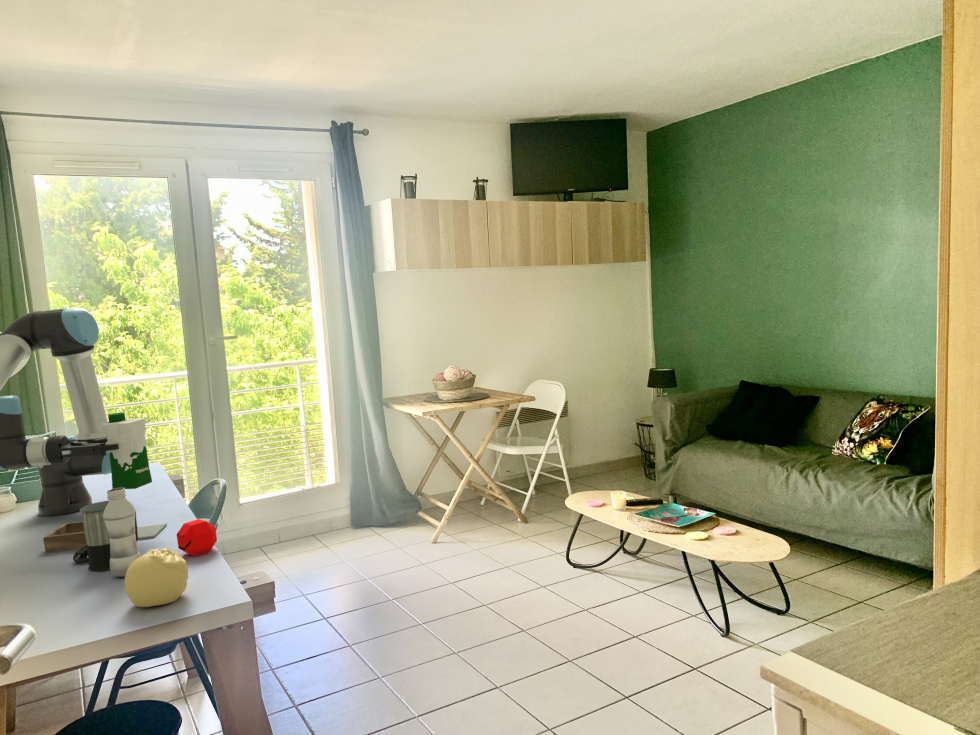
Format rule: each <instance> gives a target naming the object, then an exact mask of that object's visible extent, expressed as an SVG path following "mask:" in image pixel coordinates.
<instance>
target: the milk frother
mask: <svg viewBox="0 0 980 735" xmlns="http://www.w3.org/2000/svg"><path fill="white" fill-rule="evenodd" d="M108 503H109V500H103V501H99V502H94V503H92V504H90V505H87V506H85V507H83V508H81V509H80V510H79V512H81V516H82V517H81V518H82V521H83V524H84V531H85V538H86V544H87V545H86V546H84V547H83V548H78V550H76V551H75V553H74V554H73V555H72V560H73V562H74V563H77V564H85V563H86V564H87V563H88V569H87V570H89V571H90V572H104V571H111V570H110V541H109V536H108V531H107V527H106V524H105V520H104V517H103V514H104V510H105V508H106V506H107V504H108ZM137 521H138V520H137V511H136V510H135V535H136V542H137V543H138V541H139V540H138V533H137V527H138V522H137Z"/></svg>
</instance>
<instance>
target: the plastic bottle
mask: <svg viewBox="0 0 980 735" xmlns="http://www.w3.org/2000/svg"><path fill="white" fill-rule="evenodd" d="M106 494H107V495H106V496H107V497H106V498H107V501H109V503H108V504H107V506H106V508H105V510H104V514H103V517H104V520H105V524H106V527H107V531H108V536H109V541H110V570H109V571H110V572H111V574H112V575H113V576H114V577H118V578H120V577H121V578H122V577H125V575H126V572H127V570H128V568H129V566H130V565H131V564H132V563H133V562H134V561H135V560H136V559H137V558H139V557H140V556H141V552H140V551H139V546H138V541H137V542H136V535H135V511H136V508H135V506H134V504H132V503H131V502H130V501H129V500H128V499H127V498H126V497H127V493H126V489H125V488H114V489H112V488H111V489H108V490H107V491H106Z"/></svg>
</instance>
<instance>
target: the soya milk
mask: <svg viewBox="0 0 980 735" xmlns="http://www.w3.org/2000/svg"><path fill="white" fill-rule="evenodd" d="M107 416H108V417H107V420H108V423H105V424H102V427H103V429H104V432H105V435H106V437H107V442H112V441H121V440H130V439H132V440H133V447H134V449H133V450H127V451H117V452H109V457H110V464H111V473H110V474H111V486H112V488H111V489H114V488H125V490H136V489H139V488H141V487H143V486H146V485H148V484H151V483H153V479H152V473H151V469H150V465H149V464H150V463H149V457H148V456H149V455H148V450H147V447H148V446H147V442H146V420H147V418H146V417H145V418H138V417H134V418H126V414H125V412H115V413H110V414H108V415H107Z"/></svg>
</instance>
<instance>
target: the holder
mask: <svg viewBox="0 0 980 735" xmlns="http://www.w3.org/2000/svg"><path fill="white" fill-rule="evenodd" d="M42 539H43V547H44V552H45V554H47V553H52V552H59V551H60V552H61V551H68V550H76V549H78V550H79V549H81V548H83V547H84V546H86V545H87V544H86V538H85V531H84V524H83V520H81V521H73V522H66V523H65V522H64V523H62V524H61V525H60V526H58V527H57V528H56V529H54V530H52V531H51V532H50V533H48V534H47V535H45V536H43V537H42Z"/></svg>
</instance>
